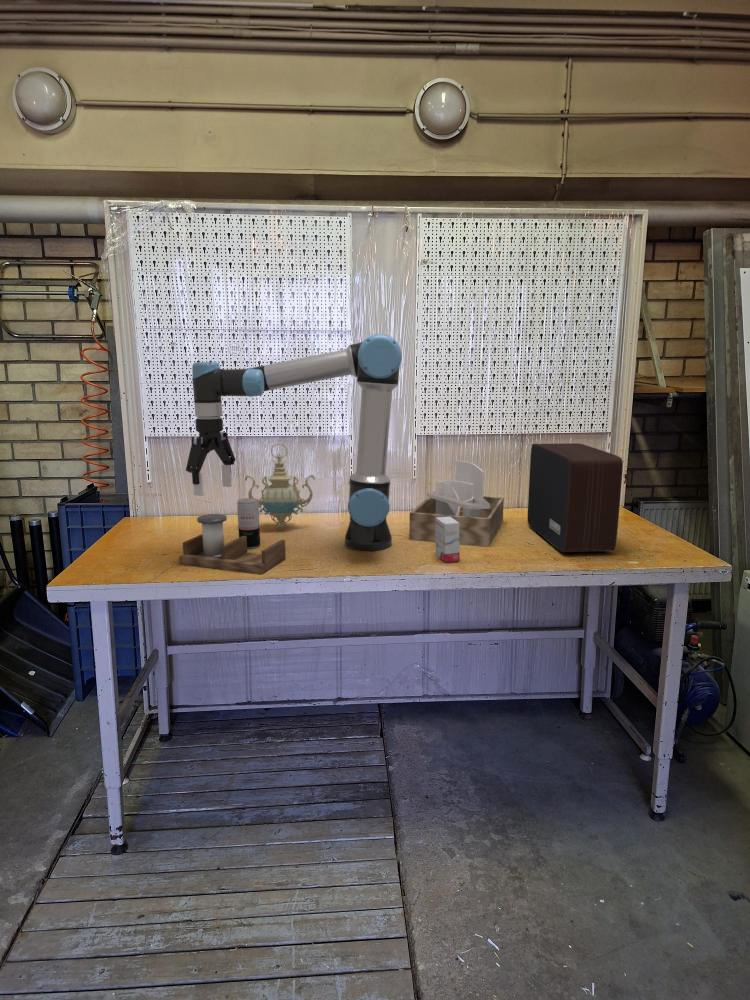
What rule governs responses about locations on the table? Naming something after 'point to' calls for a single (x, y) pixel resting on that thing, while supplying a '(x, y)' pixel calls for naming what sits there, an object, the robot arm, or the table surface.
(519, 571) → the table surface
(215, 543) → the cable reel
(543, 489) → the brown wooden speaker
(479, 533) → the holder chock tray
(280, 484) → the ornate lidded vase
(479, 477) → the architectural model
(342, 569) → the table surface
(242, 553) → the wooden divided tray
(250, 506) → the beverage can
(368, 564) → the table surface
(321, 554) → the table surface
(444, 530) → the ink box
